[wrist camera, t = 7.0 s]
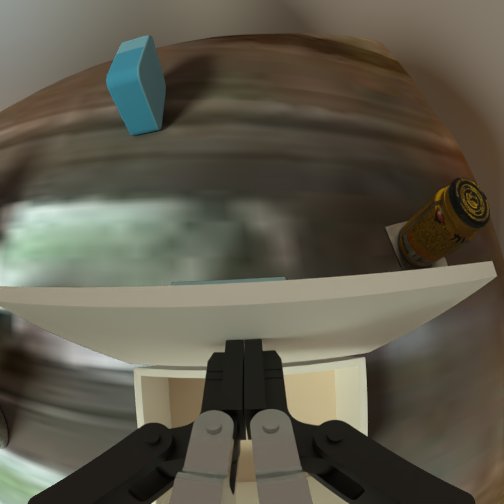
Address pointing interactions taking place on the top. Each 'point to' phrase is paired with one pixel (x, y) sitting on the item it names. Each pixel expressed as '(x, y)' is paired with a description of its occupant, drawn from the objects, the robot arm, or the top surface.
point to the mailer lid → (247, 313)
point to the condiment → (440, 226)
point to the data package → (138, 85)
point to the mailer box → (299, 406)
